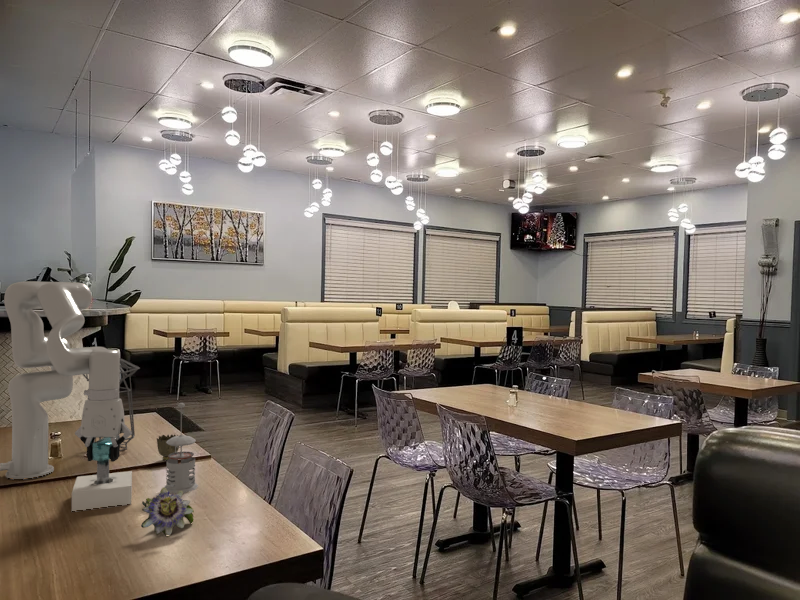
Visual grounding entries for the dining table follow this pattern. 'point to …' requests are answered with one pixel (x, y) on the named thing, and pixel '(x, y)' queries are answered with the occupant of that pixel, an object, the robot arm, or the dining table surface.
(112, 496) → the block
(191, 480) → the french press
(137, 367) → the geometric lantern
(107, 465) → the teal strapped cylinder
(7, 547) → the dining table surface
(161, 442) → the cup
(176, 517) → the passion flower
